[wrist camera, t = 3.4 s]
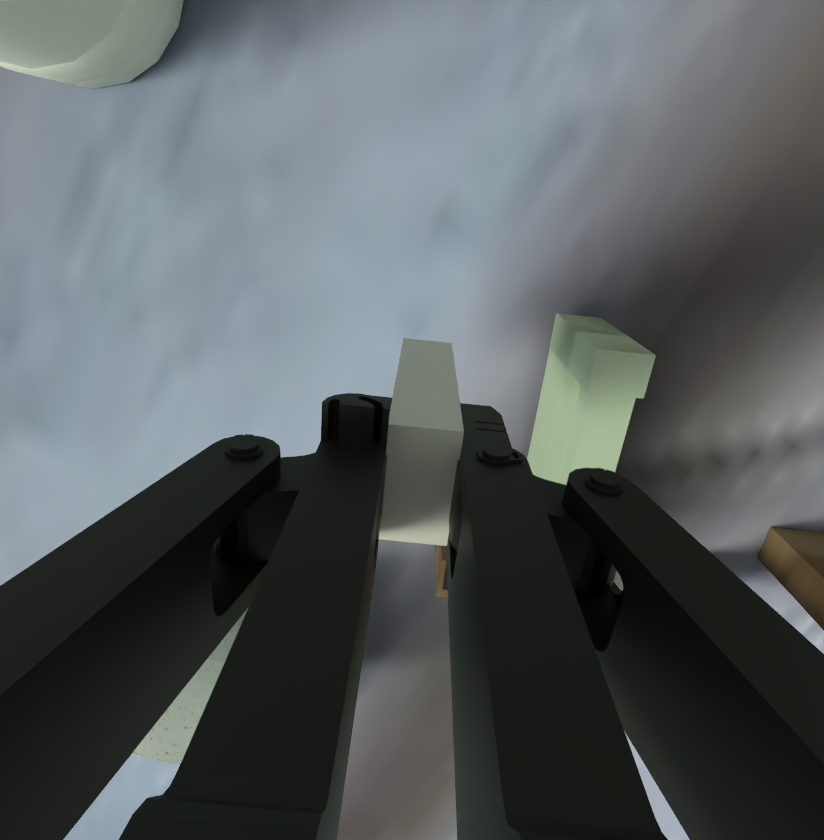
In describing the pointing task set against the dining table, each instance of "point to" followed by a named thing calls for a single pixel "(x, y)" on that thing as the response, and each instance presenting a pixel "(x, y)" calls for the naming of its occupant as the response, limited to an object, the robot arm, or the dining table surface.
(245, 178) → the dining table surface
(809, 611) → the fence far side
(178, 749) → the ceramic mug
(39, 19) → the bottle
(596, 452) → the gate
